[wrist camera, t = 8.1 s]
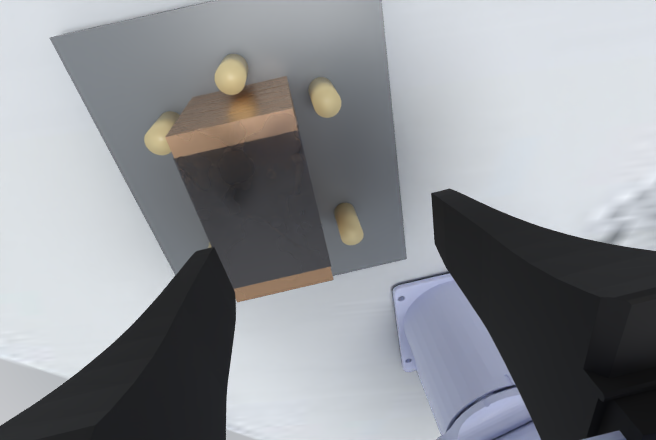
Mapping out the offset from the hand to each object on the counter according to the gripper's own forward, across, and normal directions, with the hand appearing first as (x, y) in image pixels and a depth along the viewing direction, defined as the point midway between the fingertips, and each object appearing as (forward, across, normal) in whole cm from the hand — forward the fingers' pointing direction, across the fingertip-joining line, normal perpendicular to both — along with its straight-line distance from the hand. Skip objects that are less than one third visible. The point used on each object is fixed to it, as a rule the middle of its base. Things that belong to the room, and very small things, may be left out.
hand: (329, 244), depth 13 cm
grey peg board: (+10, +2, +1) cm, 10 cm away
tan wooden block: (+9, +2, 0) cm, 9 cm away
